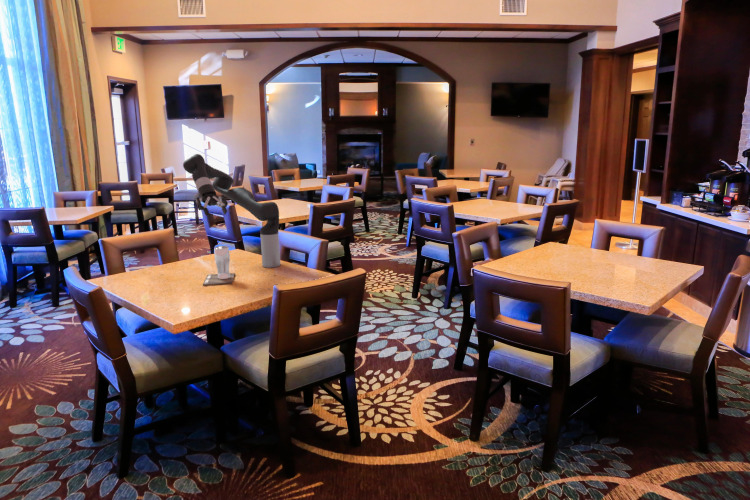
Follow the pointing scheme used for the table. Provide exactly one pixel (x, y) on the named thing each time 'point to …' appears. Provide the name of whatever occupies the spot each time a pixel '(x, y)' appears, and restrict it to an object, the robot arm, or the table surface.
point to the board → (217, 280)
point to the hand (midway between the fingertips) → (217, 214)
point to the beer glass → (222, 261)
